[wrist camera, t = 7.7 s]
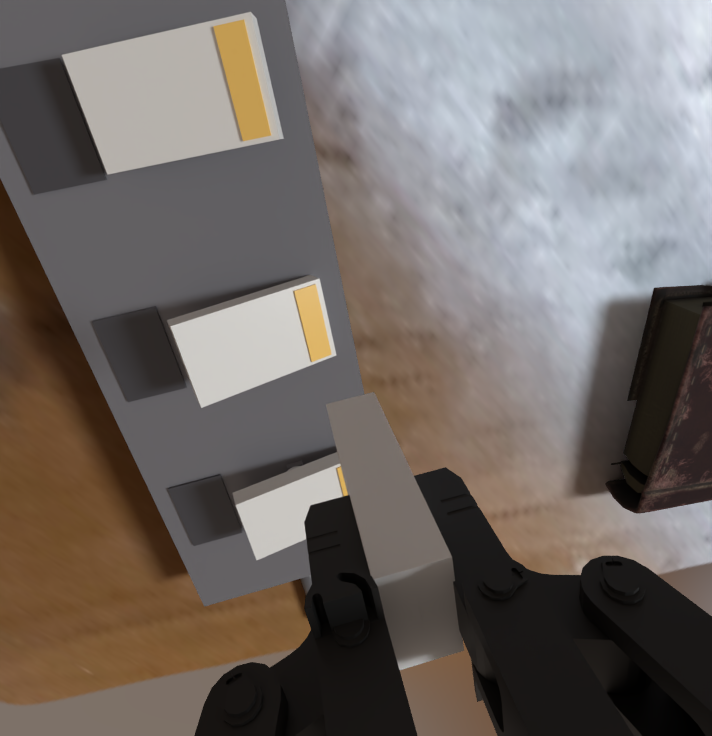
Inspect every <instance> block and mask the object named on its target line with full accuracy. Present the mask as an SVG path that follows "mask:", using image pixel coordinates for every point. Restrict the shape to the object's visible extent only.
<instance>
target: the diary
mask: <svg viewBox="0 0 712 736" xmlns="http://www.w3.org/2000/svg"><path fill="white" fill-rule="evenodd" d="M631 400H637V403H636V406H635V410H634V414H633V418H632V422H631V426H630V430H629V434H628V437H627V441H626V445H625V449H624V454H625V456H626V457H627V458H628V460H627V461H621V462H619V463H612V464H611V465H614V464H621V465H620V466H621V469H622V472H623V474H624V477H625V479H621V480H614V481H608V482H607V483H606V485H607V487H608V489H609V491H610V493H611V494H612V496H613V498H614V499H615V500H616V501H617V502H618V503H619V504H620V505H621V506H622V507H623V508H625V509H627V510H630V511H632V512H634V513H645V512H651V511H656V510H662V509H667V508H672V507H678V506H683V505H688V504H693V503H699V502H704V501H709V500H712V286H704V285H697V286H677V287H659V288H654V292H653V296H652V300H651V304H650V308H649V312H648V317H647V321H646V325H645V329H644V333H643V337H642V342H641V346H640V350H639V354H638V358H637V362H636V366H635V371H634V375H633V379H632V383H631V387H630V391H629V396H628V400H627V401H631Z"/></svg>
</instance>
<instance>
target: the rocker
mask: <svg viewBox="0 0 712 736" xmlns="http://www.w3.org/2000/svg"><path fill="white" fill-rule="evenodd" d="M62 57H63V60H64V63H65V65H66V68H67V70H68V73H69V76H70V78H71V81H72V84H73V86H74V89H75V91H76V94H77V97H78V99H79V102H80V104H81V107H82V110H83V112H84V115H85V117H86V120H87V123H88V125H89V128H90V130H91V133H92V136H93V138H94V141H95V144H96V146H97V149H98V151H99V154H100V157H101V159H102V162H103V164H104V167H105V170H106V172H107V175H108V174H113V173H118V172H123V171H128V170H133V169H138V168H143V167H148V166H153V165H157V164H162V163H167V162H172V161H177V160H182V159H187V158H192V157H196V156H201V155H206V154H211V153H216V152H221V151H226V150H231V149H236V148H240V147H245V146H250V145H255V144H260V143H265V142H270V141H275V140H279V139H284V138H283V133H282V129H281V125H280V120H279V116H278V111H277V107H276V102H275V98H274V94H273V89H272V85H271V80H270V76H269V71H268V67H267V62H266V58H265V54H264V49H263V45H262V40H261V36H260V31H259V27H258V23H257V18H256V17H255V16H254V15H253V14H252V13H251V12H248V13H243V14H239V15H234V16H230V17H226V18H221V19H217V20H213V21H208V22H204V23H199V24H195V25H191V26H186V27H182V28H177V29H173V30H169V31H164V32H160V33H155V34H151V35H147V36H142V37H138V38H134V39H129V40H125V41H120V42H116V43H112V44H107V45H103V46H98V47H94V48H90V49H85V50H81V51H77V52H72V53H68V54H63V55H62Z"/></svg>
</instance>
